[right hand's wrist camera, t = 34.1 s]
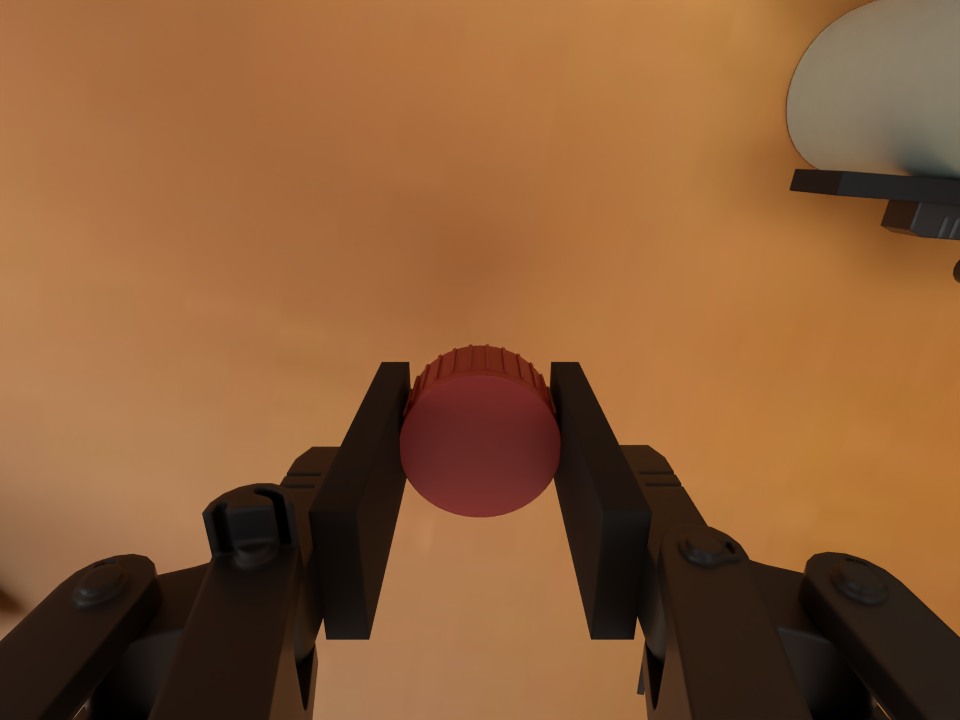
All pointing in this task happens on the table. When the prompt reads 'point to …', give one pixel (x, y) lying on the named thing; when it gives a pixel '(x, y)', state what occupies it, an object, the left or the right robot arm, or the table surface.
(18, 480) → the table surface
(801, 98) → the bottle
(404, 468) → the cap
